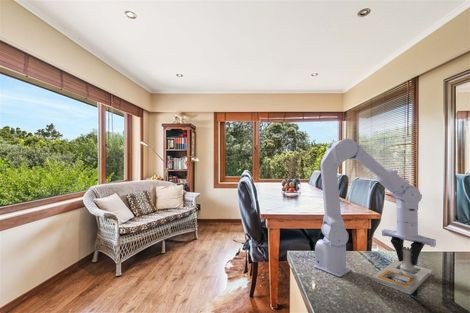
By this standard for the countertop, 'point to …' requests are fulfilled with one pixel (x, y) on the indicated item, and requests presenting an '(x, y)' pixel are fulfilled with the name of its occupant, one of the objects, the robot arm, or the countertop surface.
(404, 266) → the rook chess piece
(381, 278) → the rail plate
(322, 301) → the countertop surface
